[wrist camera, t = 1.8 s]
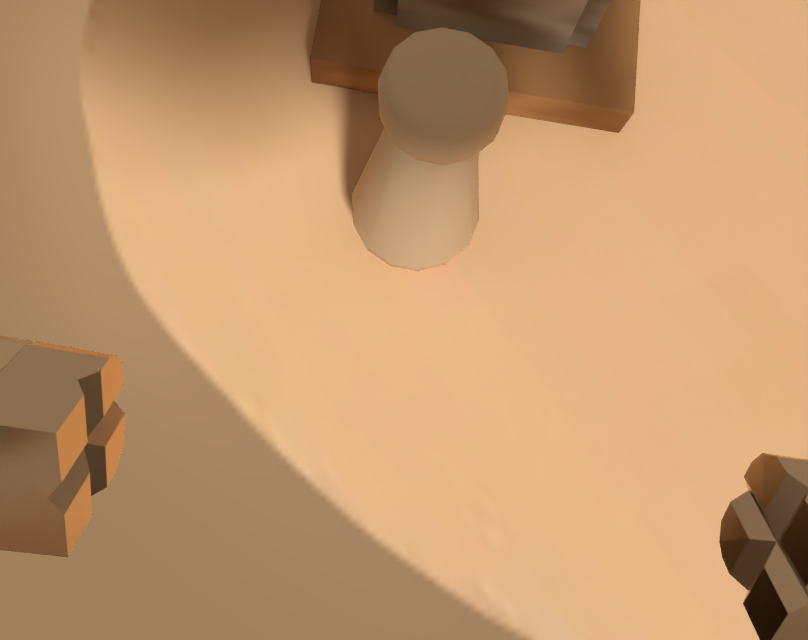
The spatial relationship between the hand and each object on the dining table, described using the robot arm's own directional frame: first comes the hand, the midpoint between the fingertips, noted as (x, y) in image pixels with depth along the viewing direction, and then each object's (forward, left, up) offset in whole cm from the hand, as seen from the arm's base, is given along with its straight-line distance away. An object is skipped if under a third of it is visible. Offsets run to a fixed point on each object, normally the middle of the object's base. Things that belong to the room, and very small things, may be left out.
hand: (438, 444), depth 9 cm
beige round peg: (0, -12, -23) cm, 27 cm away
